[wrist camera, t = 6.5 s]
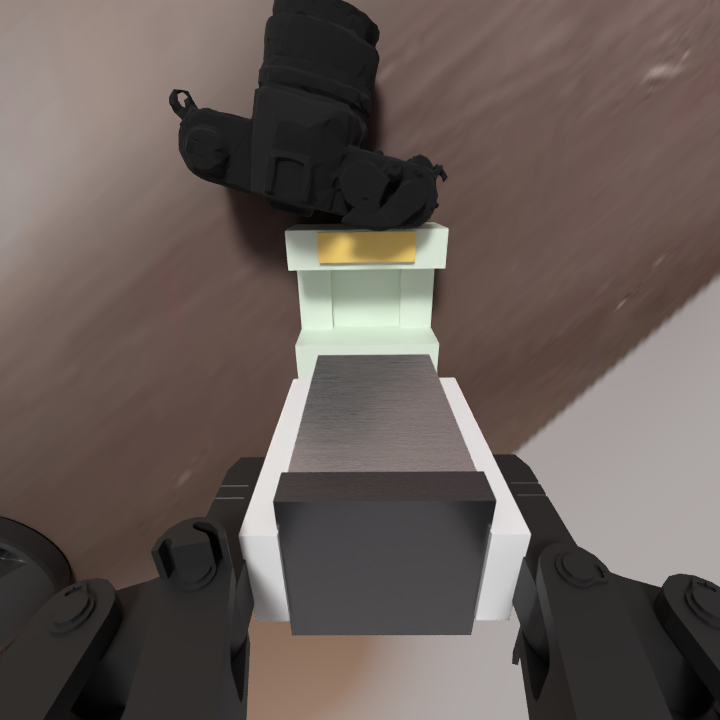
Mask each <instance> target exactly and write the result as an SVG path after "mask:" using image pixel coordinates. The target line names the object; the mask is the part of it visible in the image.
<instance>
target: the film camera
mask: <svg viewBox="0 0 720 720" xmlns="http://www.w3.org/2000/svg"><path fill="white" fill-rule="evenodd" d="M378 40H379V30H378V26H377V25H376V24H375V23H373V22H372V20H371V19H370V18H369V17H368V16H367V15H366V14H365V13H363V12H362V11H360V10H358V9H357V8H356V7H354V6H353V5H351V4H349V3H347V2H345V1H342V0H274V5H273V16H271V17H270V18H269V19H268V20H267V23H266V28H265V37H264V45H265V46H264V58H263V59H264V61H263V64H262V67H261V69H260V70H259V80H258V84H259V88H258V89H255V96H254V106H253V115H252V118H251V119H247V118H243V117H240V116H236V115H233V114H228V113H223V112H218V111H215V110H212V109H210V108H202V109H198V108H197V106H196V105H195V103H194V101H193V100H192V98H191V96H190V94H189V92H188V91H184V90H176V89H174V90H173V91H172V93H171V95H170V97H169V104H170V105H171V107H172V109H173V111H174V112H175V113H176V114H177V115H178V116H179V117H180V118H181V119H182V121H181V123H180V126H181V127H180V130H179V151H180V153H181V155H182V157H183V160H184V162H185V164H186V165H187V167H188V169H189V170H190V171H191V172H192V173H194V174H195V175H196V176H198V177H200V178H201V179H204V180H206V181H209V182H212V183H216V184H219V185H223V186H226V187H229V188H233V189H236V190H240V191H243V192H246V193H250V194H254V195H259V196H264V197H266V198H267V201H268V206H269V207H270V208H272V209H275V210H279V211H283V212H288V213H293V214H296V215H300V216H303V217H310V216H311V215H313V213H314V210H315V209H317V210H322V211H326V212H330V213H334V214H338V215H341V216H344V217H343V219H342V223H344V224H345V225H346V226H351V227H355V228H362V229H368V230H372V231H384V230H388V229H392V228H394V227H400V228H402V229H413V228H417V227H420V226H421V225H422V224H423V223H425V222H426V221H427V220H428V219H429V218H430V217H431V215H432V214H433V212H434V209H435V208H437V207H438V206H439V204H438V203H437V197H438V193H437V189H436V179H437V177H438V175H440V176H441V177H442V179H443V182H444V181H445V180H446V179H447V175H446V173H445V172H444V170H443V166H442V165H440V166H438V164H436V165H435V166H434V167H433V165H432V163H431V162H430V160H429V159H428V158H427V157H425V156H423V155H421V154H420V155H418V156H414V157H413V158H412V159H409V160H408V161H403V160H400V159H397V158H393V157H389V156H384V154H383V152H382V151H379V150H374V151H371V150H368V151H367V150H364V146H365V141H366V139H367V136H368V126H367V125H366V119H367V118H369V116H370V112H371V108H372V103H371V95H372V91H373V87H374V82H375V77H376V73H377V68H378V63H379V55H378V52H377V50H376V49H375V46H376V43H377V42H378ZM181 92H184V93H185V94H186V95H187V96H188V98H187V99H185V100H184V102H185V106H186V107H182V106H181V104H180V103H179V101H178V96H177V94H179V93H181Z"/></svg>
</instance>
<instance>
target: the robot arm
mask: <svg viewBox="0 0 720 720" xmlns="http://www.w3.org/2000/svg"><path fill="white" fill-rule="evenodd" d="M439 379H440V382H441V384H442V387H443V389H444V392H445V394H446V397H447V399H448V401H449V404H450V406H451V409H452V411H453V414H454V416H455V419H456V421H457V424H458V426H459V428H460V431H461V433H462V436H463V438H464V441H465V443H466V446H467V448H468V451H469V453H470V455H471V458H472V460H473V463H474V465H475V468H476V470H477V471H484V473H485V475H486V477H487V480H488V482H489V484H490V486H491V489H492V491H493V493H494V496H495V498H496V500H497V502H496V507H495V512H494V517H493V522H492V528H491V529H490V533H489V538H488V544H487V549H486V554H485V559H484V565H483V570H482V575H481V581H480V586H479V591H478V596H477V602H476V607H475V612H474V617H475V620H509V618H510V615H511V610H512V607H513V605H514V608H515V611H516V614H517V616H518V619H519V622H520V629H519V632H518V636H517V640H516V643H515V647H514V650H513V659H512V661H513V662H512V664H516V665H518V662H519V659H520V660H521V667H522V673H523V680H524V686H525V693H526V700H527V707H528V713H529V720H720V587H719V586H717V585H715V584H714V583H712V582H710V581H707V580H704V579H702V578H699V577H697V576H694V575H686V574H677V575H672V576H669V577H668V579H667V580H666V581H665V583H664V584H663V586H662V588H661V587H657V586H653V585H650V584H646V583H643V582H639V581H635V580H632V579H628V578H625V577H622V576H619V575H616V574H613V573H611V572H610V571H609V570H608V568H607V567H606V565H604V564H603V563H602V562H601V561H600V560H599V559H598V558H597V557H596V556H595V555H593V554H591V553H589V552H588V551H586V550H584V549H583V548H581V547H578V546H577V544H576V543H575V541H574V540H573V538H572V536H571V535H570V533H569V532H568V530H567V528H566V527H565V525H564V523H563V521H562V520H561V518H560V517H559V515H558V513H557V511H556V510H555V508H554V507H553V505H552V503H551V502H550V500H549V498H548V497H547V496H546V495H545V492H544V490H543V488H542V487H541V485H540V484H538V480H537V478H536V477H535V475H534V473H533V472H532V470H531V469H530V467H529V466H528V465H527V464H526V463H524V462H523V461H522V460H521V459H520V458H518V457H517V456H516V455H492V453H491V451H490V449H489V447H488V445H487V443H486V441H485V439H484V437H483V435H482V433H481V431H480V429H479V427H478V425H477V423H476V421H475V419H474V417H473V414H472V412H471V410H470V408H469V406H468V404H467V402H466V400H465V398H464V396H463V394H462V392H461V390H460V388H459V386H458V384H457V382H456V380H455V378H439ZM311 380H312V379H293V382H292V385H291V388H290V391H289V393H288V396H287V399H286V402H285V405H284V408H283V410H282V413H281V416H280V419H279V422H278V425H277V427H276V430H275V433H274V436H273V439H272V442H271V445H270V447H269V450H268V453H267V456H266V457H251V458H240V459H239V460H238V461H237V462H236V463H235V464H234V465H233V466H232V467H231V468H230V469H229V470H228V471H227V474H226V476H225V478H224V480H223V482H222V484H221V487H220V488H219V491H218V493H217V495H216V499H215V500H214V501H213V503H212V506H211V508H210V510H209V512H208V514H207V516H206V517H195V518H191V519H188V520H185V521H181V522H180V523H178V524H176V525H175V526H173V527H171V528H169V529H168V530H167V531H166V532H165V533H164V534H163V535H162V536H161V537H160V538H159V539H158V540H157V542H156V543H155V545H154V547H153V549H152V550H151V553H152V556H153V559H154V562H155V564H156V567H157V570H158V573H159V576H160V577H158V578H155V579H152V580H150V581H147V582H144V583H140V584H137V585H134V586H130V587H127V588H124V589H120V590H117V591H116V590H115V588H114V587H113V586H112V584H111V583H110V582H109V581H108V580H104V579H100V578H93V579H86V580H82V581H79V582H77V583H75V584H72V585H70V586H69V583H70V570H69V567H68V564H67V562H66V560H65V559H64V557H63V556H62V554H61V553H60V552H59V551H58V549H57V548H56V547H55V546H54V545H53V544H51V543H50V542H49V541H48V540H47V539H45V538H44V537H43V536H41V535H40V534H38V533H36V532H35V531H33V530H31V529H29V528H27V527H25V526H23V525H21V524H19V523H16V522H14V521H11V520H8V519H4V518H1V517H0V653H2V652H3V651H4V650H5V649H6V648H7V647H9V646H10V645H11V646H10V647H9V648H8V649H7V651H6V652H5V653H4V655H3V656H2V657H1V658H0V720H246V717H247V695H248V676H249V656H250V641H249V634H248V627H249V623H250V619H251V615H252V611H253V608H254V613H255V617H256V621H290V616H291V615H290V608H289V601H288V594H287V587H286V580H285V573H284V566H283V559H282V552H281V546H280V539H279V532H278V530H277V527H276V520H275V513H274V506H273V500H274V496H275V493H276V489H277V486H278V482H279V478H280V475H281V472H288V468H289V464H290V461H291V457H292V453H293V449H294V445H295V441H296V438H297V434H298V430H299V426H300V422H301V418H302V415H303V411H304V407H305V403H306V399H307V395H308V392H309V388H310V384H311Z"/></svg>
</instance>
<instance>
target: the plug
mask: <svg viewBox="0 0 720 720" xmlns="http://www.w3.org/2000/svg"><path fill="white" fill-rule="evenodd" d="M496 502H497V500H496V498H495V496H494V493H493V491H492V489H491V486H490V484H489V482H488V480H487V477H486V475H485V473H484V471H477V470H476V468H475V465H474V463H473V460H472V458H471V455H470V453H469V451H468V448H467V446H466V443H465V441H464V438H463V436H462V433H461V431H460V428H459V426H458V424H457V421H456V419H455V416H454V414H453V411H452V409H451V406H450V404H449V401H448V399H447V397H446V394H445V392H444V389H443V387H442V384H441V382H440V379H439V377H438V374H437V372H436V370H435V367H434V365H433V362H432V360H431V357H430V355H429V354H396V355H318V357H317V361H316V365H315V369H314V372H313V376H312V380H311V384H310V388H309V392H308V395H307V399H306V403H305V407H304V411H303V415H302V418H301V422H300V426H299V430H298V434H297V438H296V441H295V445H294V449H293V453H292V457H291V461H290V464H289V468H288V472H281V475H280V478H279V482H278V486H277V489H276V493H275V496H274V500H273V506H274V513H275V520H276V527H277V530H278V532H279V539H280V546H281V552H282V559H283V566H284V573H285V580H286V587H287V594H288V601H289V608H290V615H291V616H290V623H291V630H292V635H471V632H472V627H473V622H474V612H475V607H476V602H477V596H478V591H479V586H480V581H481V575H482V570H483V565H484V559H485V554H486V549H487V544H488V538H489V533H490V529H491V528H492V522H493V517H494V512H495V507H496Z"/></svg>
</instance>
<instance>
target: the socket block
mask: <svg viewBox="0 0 720 720" xmlns="http://www.w3.org/2000/svg"><path fill="white" fill-rule="evenodd" d="M285 239H286V250H287V261H288V271H290V270H297V274H298V287H299V299H300V311H301V323H302V331H301V333H300V336H299V338H298V341H297V343H296V346H295V347H296V358H297V369H298V379H312V376H313V372H314V369H315V365H316V361H317V357H318V355H396V354H429V355H430V357H431V360H432V362H433V365H434V367H435V370H436V372H437V363H438V351H439V343H438V341H437V339H436V337H435V335H434V333H433V331H432V329H431V327H430V326H431V312H432V297H433V283H434V269H435V268H445V265H446V253H447V240H448V228H446V227H444V226H442V225H439V224H437V223H435V222H425V223H423V224H422V225H421V226H420V227H417V228H413V229H402V228H400V227H394V228H392V229H388V230H384V231H372V230H368V229H362V228H355V227H351V226H346V225H345V224H296V225H294V226H292V227H291V228H289V229H287V230H285Z"/></svg>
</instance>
